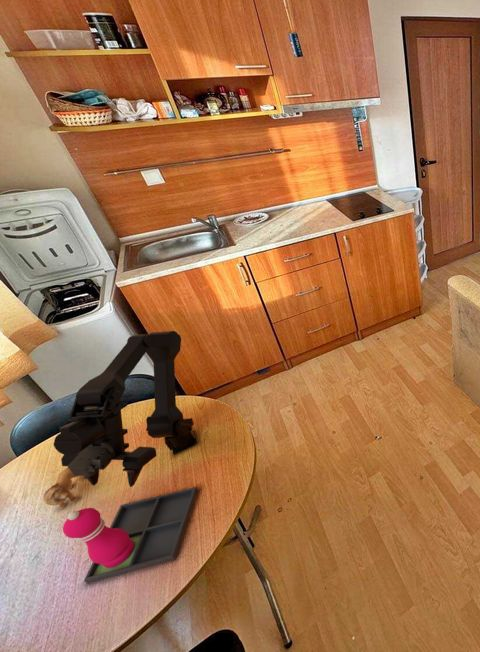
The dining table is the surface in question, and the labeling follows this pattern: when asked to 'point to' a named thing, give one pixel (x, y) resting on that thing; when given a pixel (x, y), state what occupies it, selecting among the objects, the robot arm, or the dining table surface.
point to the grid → (149, 532)
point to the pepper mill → (99, 537)
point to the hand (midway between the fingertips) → (113, 485)
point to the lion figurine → (61, 490)
